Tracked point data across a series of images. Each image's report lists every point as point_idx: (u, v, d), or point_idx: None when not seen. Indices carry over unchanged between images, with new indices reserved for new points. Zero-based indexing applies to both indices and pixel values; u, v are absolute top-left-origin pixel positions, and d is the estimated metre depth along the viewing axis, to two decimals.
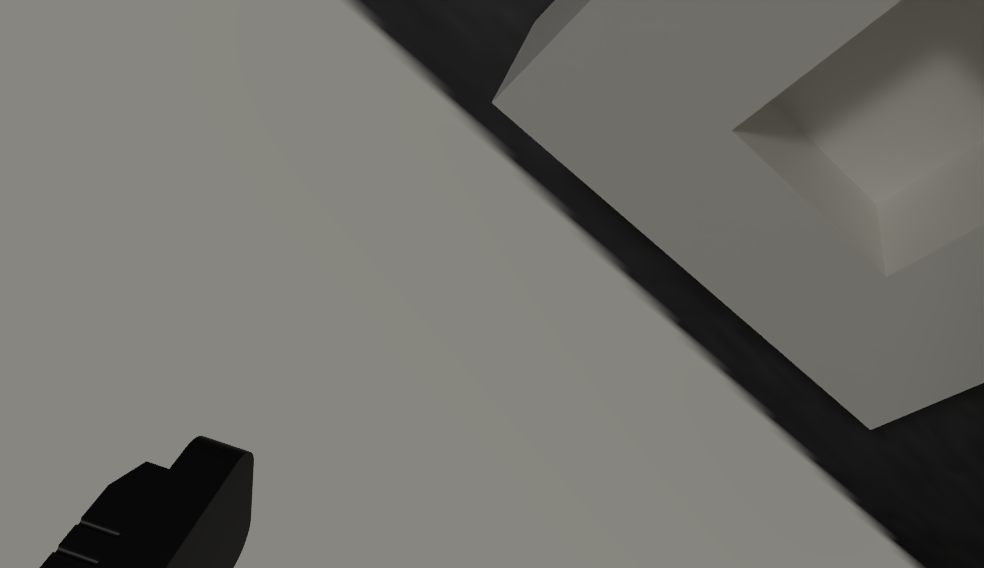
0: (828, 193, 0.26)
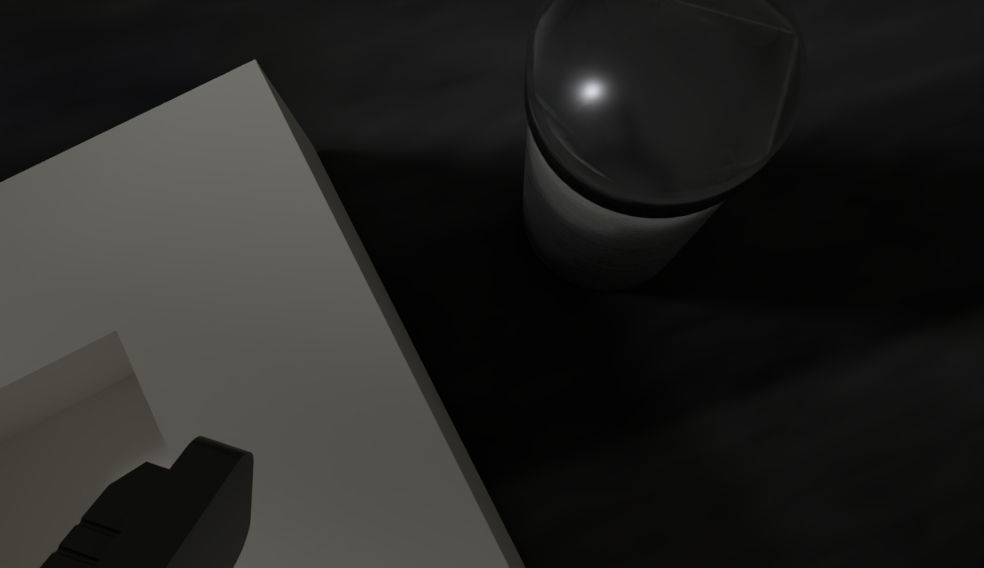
0: None
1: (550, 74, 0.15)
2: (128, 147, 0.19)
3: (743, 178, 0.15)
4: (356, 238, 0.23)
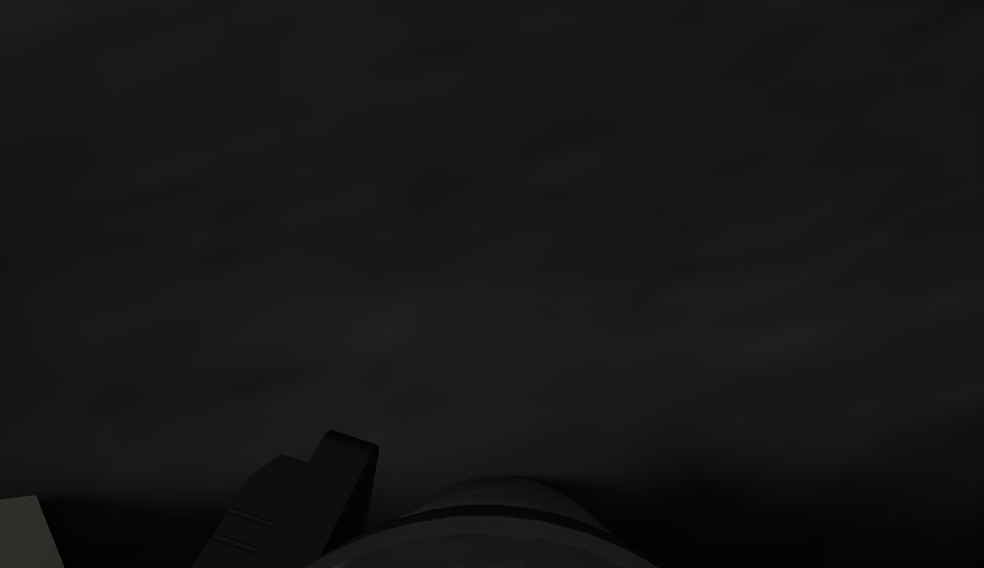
0: None
1: None
2: None
3: None
4: None
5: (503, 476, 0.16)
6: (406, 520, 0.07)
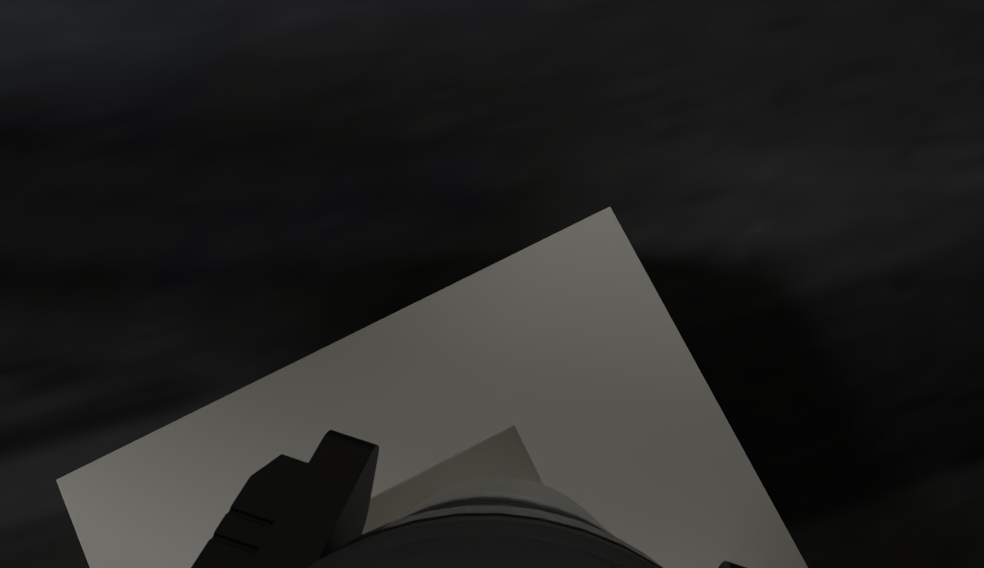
0: None
1: None
2: (513, 277, 0.25)
3: None
4: None
5: (504, 477, 0.16)
6: (407, 521, 0.07)
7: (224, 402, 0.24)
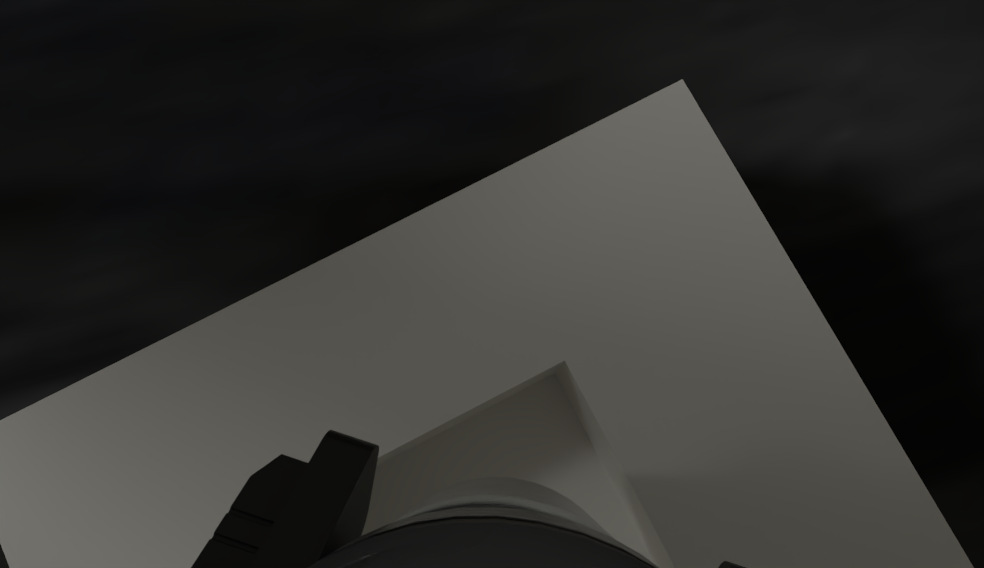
0: None
1: None
2: (559, 170, 0.19)
3: None
4: None
5: (503, 478, 0.16)
6: (404, 523, 0.07)
7: (182, 336, 0.18)
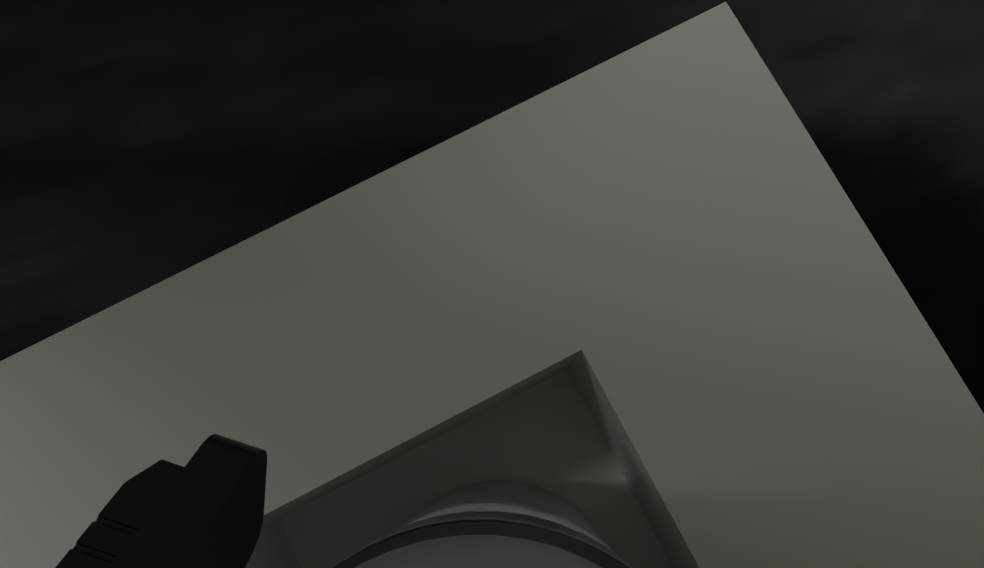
0: None
1: None
2: (573, 113, 0.15)
3: None
4: None
5: (505, 480, 0.17)
6: (422, 524, 0.09)
7: (101, 320, 0.15)
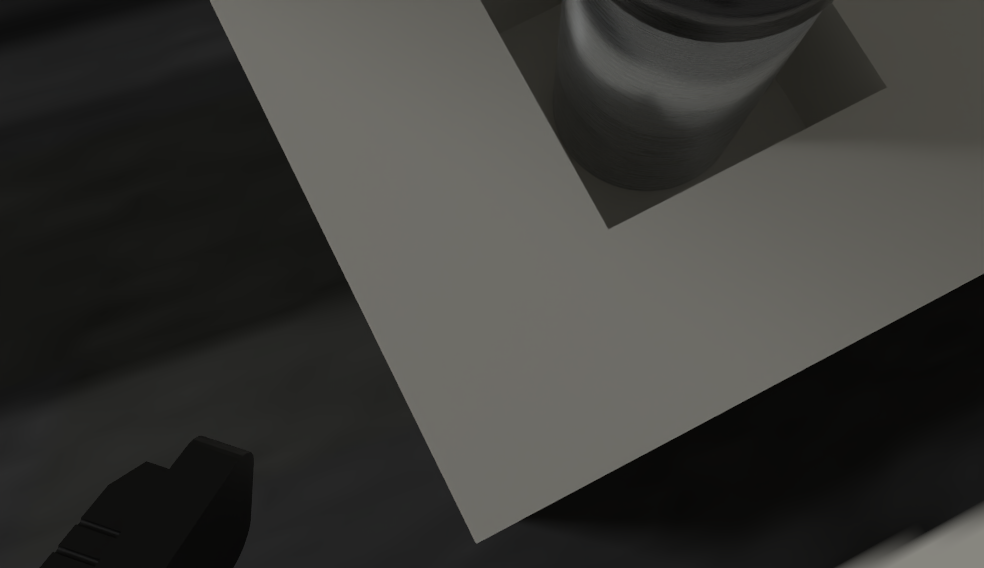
0: None
1: None
2: None
3: None
4: None
5: None
6: None
7: None
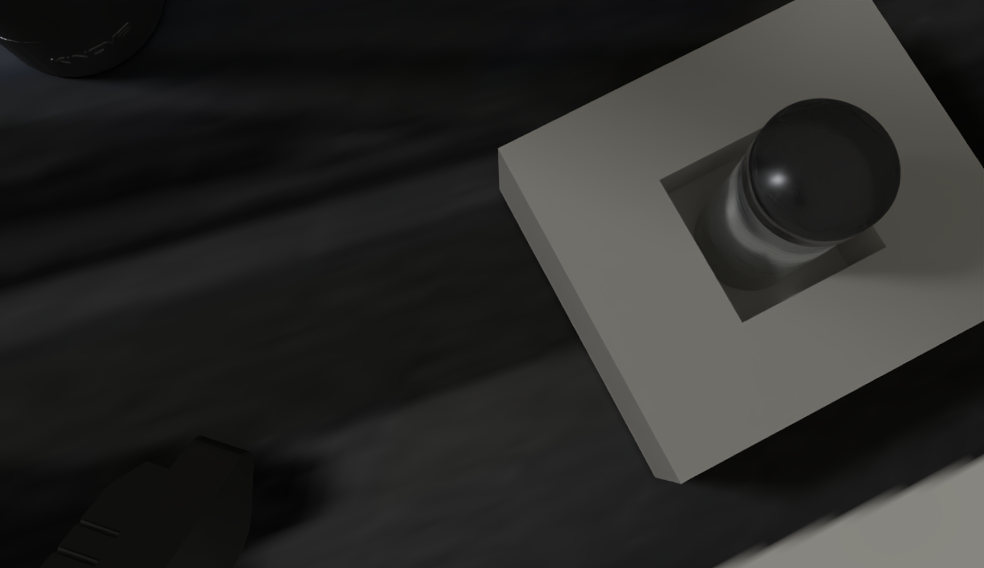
0: (817, 282, 0.36)
1: (766, 173, 0.29)
2: (791, 17, 0.37)
3: (870, 226, 0.29)
4: None
5: None
6: None
7: (604, 98, 0.36)
